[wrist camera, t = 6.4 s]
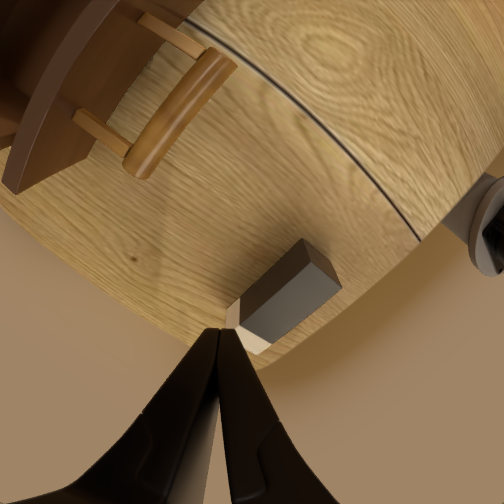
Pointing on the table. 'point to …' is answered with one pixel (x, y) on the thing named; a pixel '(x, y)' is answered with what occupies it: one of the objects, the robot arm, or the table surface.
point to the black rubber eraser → (283, 297)
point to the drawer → (91, 81)
